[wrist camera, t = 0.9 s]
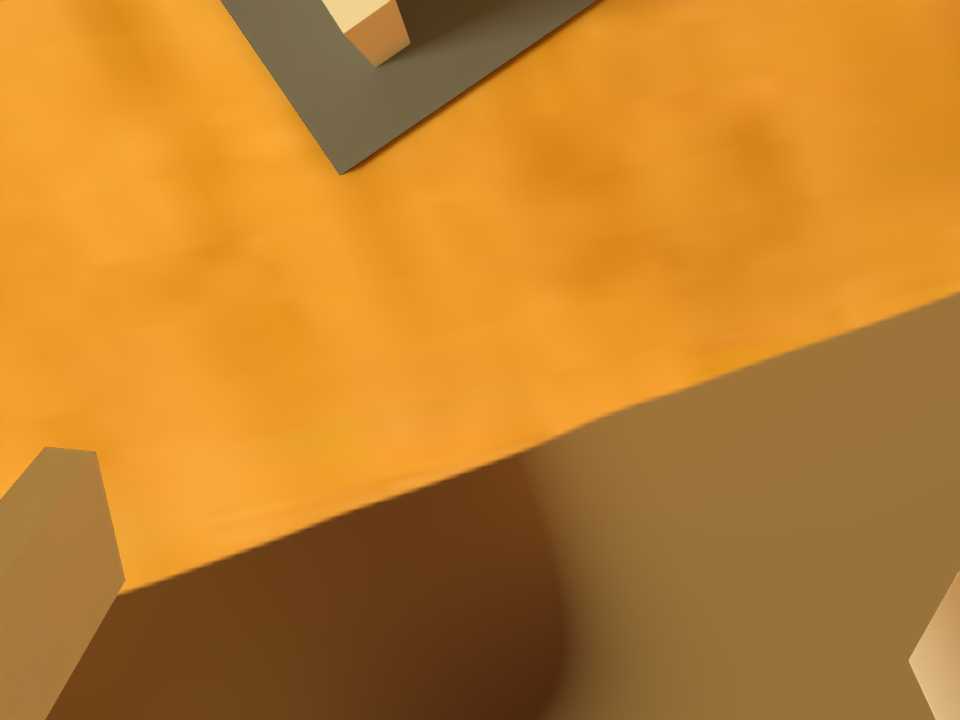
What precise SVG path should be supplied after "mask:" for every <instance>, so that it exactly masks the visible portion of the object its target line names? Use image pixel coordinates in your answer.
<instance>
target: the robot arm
mask: <svg viewBox="0 0 960 720" xmlns="http://www.w3.org/2000/svg"><path fill="white" fill-rule="evenodd" d="M124 582H125V576H124V572H123V568H122V563H121V559H120V555H119V550H118V546H117V542H116V537H115V533H114V529H113V524H112V520H111V515H110V511H109V507H108V502H107V498H106V494H105V489H104V485H103V481H102V476H101V472H100V468H99V463H98V459H97V454H96V452H93V451H83V450H73V449H63V448H53V447H45V448H44V449H43V450H42V451H41V452H40V454H39V455H38V456H37V457H36V458H35V459H34V461H33V462H32V463H31V464H30V465H29V467H28V468H27V469H26V470H25V471H24V473H23V474H22V475H21V476H20V477H19V478H18V480H17V481H16V482H15V483H14V484H13V486H12V487H11V488H10V489H9V490H8V492H7V493H6V494H5V495H4V496H3V497H2V499H1V500H0V720H45V719H46V717H47V715H48V714H49V712H50V710H51V709H52V707H53V705H54V703H55V702H56V700H57V698H58V696H59V694H60V693H61V691H62V689H63V688H64V686H65V684H66V682H67V681H68V679H69V677H70V675H71V674H72V672H73V670H74V669H75V667H76V665H77V663H78V661H79V660H80V658H81V656H82V655H83V653H84V651H85V649H86V648H87V646H88V644H89V642H90V641H91V639H92V637H93V635H94V634H95V632H96V630H97V628H98V627H99V625H100V623H101V621H102V620H103V618H104V616H105V615H106V613H107V611H108V609H109V608H110V606H111V604H112V602H113V601H114V599H115V597H116V596H117V594H118V592H119V590H120V589H121V587H122V585H123V583H124ZM909 663H910V665H911V667H912V669H913V671H914V674H915V676H916V678H917V680H918V682H919V684H920V686H921V689H922V691H923V693H924V695H925V698H926V700H927V702H928V704H929V706H930V708H931V711H932V713H933V715H934V717H935V719H936V720H960V570H959V572H958V573H957V575H956V577H955V579H954V581H953V582H952V584H951V586H950V588H949V589H948V591H947V593H946V595H945V597H944V598H943V600H942V602H941V604H940V605H939V607H938V609H937V611H936V613H935V614H934V616H933V618H932V620H931V621H930V623H929V625H928V627H927V629H926V630H925V632H924V634H923V636H922V637H921V639H920V641H919V643H918V645H917V646H916V648H915V650H914V652H913V654H912V655H911V657H910V659H909Z"/></svg>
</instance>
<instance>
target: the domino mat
mask: <svg viewBox="0 0 960 720" xmlns="http://www.w3.org/2000/svg"><path fill="white" fill-rule="evenodd" d="M596 1H597V0H396V3H397V6H398V8H399V11H400V14H401V17H402V20H403V23H404V25H405V28H406V31H407V34H408V37H409V40H410V42H411V44H409V45H408V46H406V47H405V48H403V49H402V50H401V51H399V52H398V53H396V54H395V55H393V56H392V57H390V58H389V59H388V60H386V61H385V62H383V63H382V64H380V65H379V66H378V67H375V66H374V65H373V64H372V63H371V62H370V61H369V60H368V59H367V58H366V57H365V56H364V55H363V54H362V53H361V52H360V51H359V49H358V48H357V47H356V46H355V45H354V44H353V43H352V42H351V41H350V40H349V39H348V38H347V37H346V36H345V35H344V34H343V32H342V31H341V29H340V28H339V26H338V24H337V23H336V21H335V20H334V18H333V17H332V15H331V14H330V12H329V11H328V9H327V8H326V6H325V4H324V3H323V1H322V0H221V2H222V3H223V5H224V6H225V8H226V9H227V11H228V12H229V14H230V15H231V16H232V18H233V19H234V21H235V22H236V24H237V25H238V27H239V28H240V30H241V31H242V33H243V34H244V35H245V37H246V38H247V40H248V41H249V43H250V44H251V46H252V47H253V49H254V50H255V52H256V53H257V55H258V56H259V57H260V59H261V60H262V62H263V63H264V65H265V66H266V68H267V69H268V71H269V72H270V74H271V75H272V76H273V78H274V79H275V81H276V82H277V84H278V85H279V87H280V88H281V90H282V91H283V93H284V94H285V96H286V97H287V98H288V100H289V101H290V103H291V104H292V106H293V107H294V109H295V110H296V112H297V113H298V115H299V116H300V118H301V119H302V120H303V122H304V123H305V125H306V126H307V128H308V129H309V131H310V132H311V134H312V135H313V137H314V138H315V139H316V141H317V142H318V144H319V145H320V147H321V148H322V150H323V151H324V153H325V154H326V156H327V157H328V159H329V160H330V161H331V163H332V164H333V166H334V167H335V169H336V170H337V172H338V173H339V175H342V174H344V173H345V172H347V171H348V170H350V169H351V168H353V167H354V166H356V165H357V164H358V163H360V162H361V161H363V160H364V159H366V158H367V157H369V156H370V155H372V154H373V153H375V152H376V151H378V150H379V149H380V148H382V147H383V146H385V145H386V144H388V143H389V142H391V141H392V140H394V139H395V138H397V137H398V136H399V135H401V134H402V133H404V132H405V131H407V130H408V129H410V128H411V127H413V126H414V125H416V124H417V123H418V122H420V121H421V120H423V119H424V118H426V117H427V116H429V115H430V114H432V113H433V112H435V111H436V110H437V109H439V108H440V107H442V106H443V105H445V104H446V103H448V102H449V101H451V100H452V99H454V98H455V97H457V96H458V95H459V94H461V93H462V92H464V91H465V90H467V89H468V88H470V87H471V86H473V85H474V84H476V83H477V82H478V81H480V80H481V79H483V78H484V77H486V76H487V75H489V74H490V73H492V72H493V71H495V70H496V69H497V68H499V67H500V66H502V65H503V64H505V63H506V62H508V61H509V60H511V59H512V58H514V57H515V56H517V55H518V54H519V53H521V52H522V51H524V50H525V49H527V48H528V47H530V46H531V45H533V44H534V43H536V42H537V41H538V40H540V39H541V38H543V37H544V36H546V35H547V34H549V33H550V32H552V31H553V30H555V29H556V28H557V27H559V26H560V25H562V24H563V23H565V22H566V21H568V20H569V19H571V18H572V17H574V16H575V15H576V14H578V13H579V12H581V11H582V10H584V9H585V8H587V7H588V6H590V5H591V4H593V3H594V2H596Z"/></svg>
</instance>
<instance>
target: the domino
mask: <svg viewBox="0 0 960 720" xmlns="http://www.w3.org/2000/svg"><path fill="white" fill-rule="evenodd" d="M322 1H323V3H324V4H325V6H326V8H327V9H328V11H329V12H330V14H331V15H332V17H333V18H334V20H335V21H336V23H337V24H338V26H339V28H340V29H341V31H342V32H343V34H344V35H345V36H346V37H347V38H348V39H349V40H350V41H351V42H352V43H353V44H354V45H355V46H356V47H357V48H358V49H359V51H360V52H361V53H362V54H363V55H364V56H365V57H366V58H367V59H368V60H369V61H370V62H371V63H372V64H373V65H374V66H375V67H378V66H379V65H380V64H382V63H383V62H385V61H386V60H388V59H389V58H390V57H392V56H393V55H395V54H396V53H398V52H399V51H401V50H402V49H403V48H405V47H406V46H408V45H409V44H411V42H410V40H409V37H408V34H407V31H406V28H405V25H404V23H403V20H402V17H401V14H400V11H399V8H398V6H397V3H396V0H322Z"/></svg>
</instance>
